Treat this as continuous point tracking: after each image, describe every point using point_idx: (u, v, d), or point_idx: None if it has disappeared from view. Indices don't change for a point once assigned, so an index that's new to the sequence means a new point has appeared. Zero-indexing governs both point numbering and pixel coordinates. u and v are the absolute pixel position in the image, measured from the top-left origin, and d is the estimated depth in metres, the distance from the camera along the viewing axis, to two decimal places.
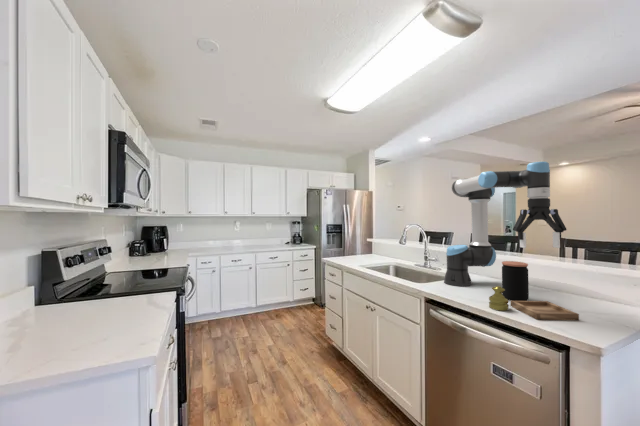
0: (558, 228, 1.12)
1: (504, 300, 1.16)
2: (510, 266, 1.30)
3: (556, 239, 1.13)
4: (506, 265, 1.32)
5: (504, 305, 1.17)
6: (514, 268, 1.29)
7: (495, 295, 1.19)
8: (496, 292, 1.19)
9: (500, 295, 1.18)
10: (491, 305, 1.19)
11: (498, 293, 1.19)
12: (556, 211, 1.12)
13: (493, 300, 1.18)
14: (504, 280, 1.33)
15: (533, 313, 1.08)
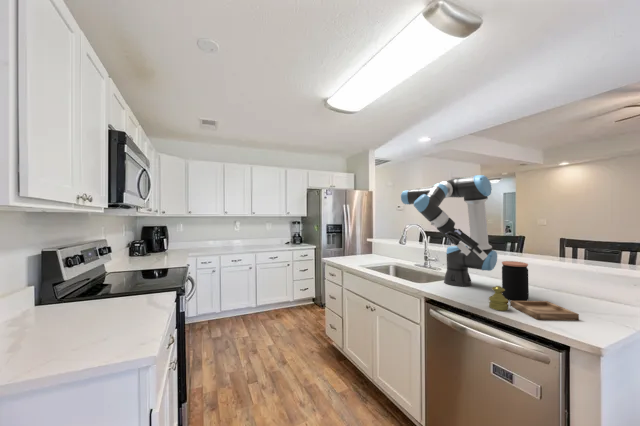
0: (469, 246, 1.14)
1: (504, 300, 1.16)
2: (510, 266, 1.30)
3: None
4: (506, 265, 1.32)
5: (504, 305, 1.17)
6: (514, 268, 1.29)
7: (495, 295, 1.19)
8: (496, 292, 1.19)
9: (500, 295, 1.18)
10: (491, 305, 1.19)
11: (498, 293, 1.19)
12: (456, 234, 1.15)
13: (493, 300, 1.18)
14: (504, 280, 1.33)
15: (533, 313, 1.08)
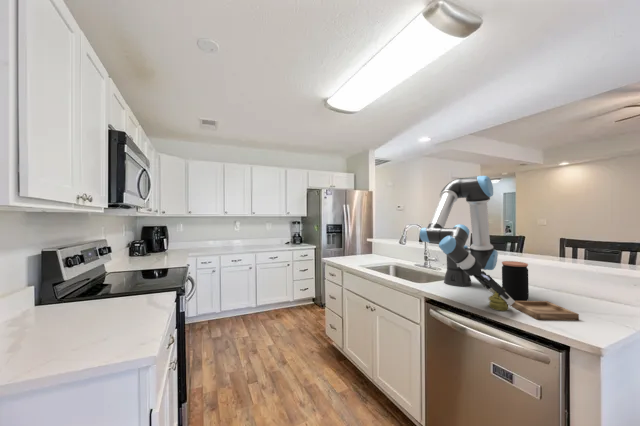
0: (496, 291, 1.16)
1: (504, 300, 1.16)
2: (510, 266, 1.30)
3: None
4: (506, 265, 1.32)
5: (504, 305, 1.17)
6: (514, 268, 1.29)
7: (495, 295, 1.19)
8: (496, 292, 1.19)
9: None
10: (491, 305, 1.19)
11: None
12: (485, 280, 1.14)
13: (493, 300, 1.18)
14: (504, 280, 1.33)
15: (533, 313, 1.08)
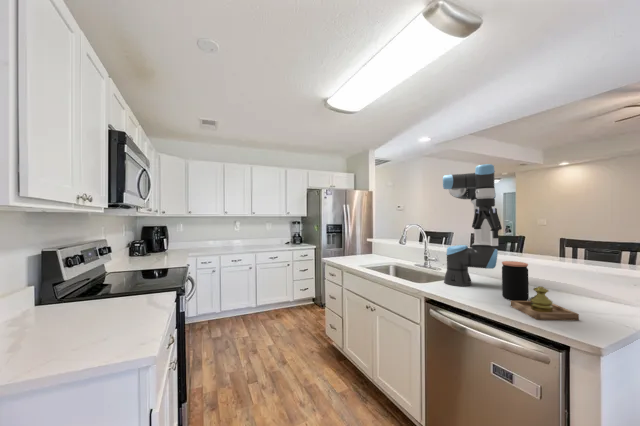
0: (491, 227, 1.16)
1: (548, 301, 1.11)
2: (510, 266, 1.30)
3: None
4: (506, 265, 1.32)
5: (548, 307, 1.11)
6: (514, 268, 1.29)
7: (538, 296, 1.13)
8: (539, 293, 1.13)
9: (544, 296, 1.12)
10: (533, 307, 1.14)
11: (541, 294, 1.13)
12: (490, 210, 1.16)
13: (536, 301, 1.13)
14: (504, 280, 1.33)
15: (533, 313, 1.08)
